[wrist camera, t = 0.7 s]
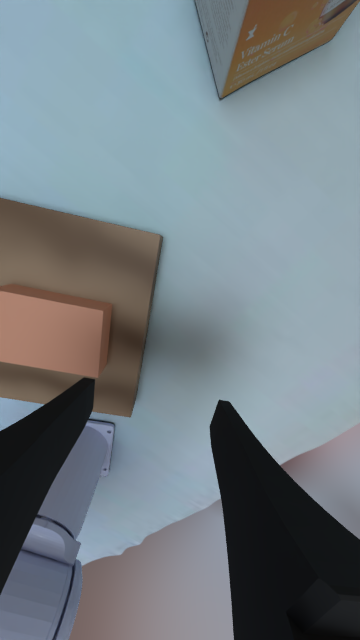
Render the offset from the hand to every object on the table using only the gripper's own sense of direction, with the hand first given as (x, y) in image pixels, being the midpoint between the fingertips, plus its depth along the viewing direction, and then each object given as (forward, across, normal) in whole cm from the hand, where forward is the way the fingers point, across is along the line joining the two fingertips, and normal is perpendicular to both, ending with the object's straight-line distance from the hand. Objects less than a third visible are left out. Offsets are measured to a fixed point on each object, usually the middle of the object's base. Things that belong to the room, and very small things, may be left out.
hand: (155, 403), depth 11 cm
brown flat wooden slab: (+9, +9, 0) cm, 13 cm away
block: (+7, +9, 0) cm, 11 cm away
